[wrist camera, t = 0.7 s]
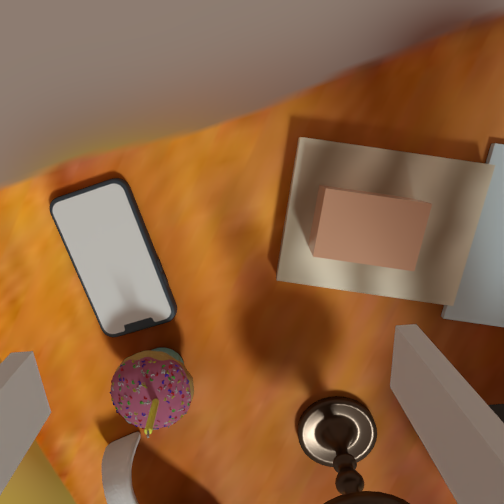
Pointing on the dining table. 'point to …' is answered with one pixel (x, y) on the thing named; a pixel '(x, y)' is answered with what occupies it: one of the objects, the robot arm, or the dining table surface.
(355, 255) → the pink block
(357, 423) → the candlestick
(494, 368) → the dining table surface
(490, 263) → the mat
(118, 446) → the spoon rest
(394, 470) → the dining table surface
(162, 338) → the dining table surface
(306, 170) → the beige flat rectangular piece
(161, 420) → the cupcake
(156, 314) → the phone case
